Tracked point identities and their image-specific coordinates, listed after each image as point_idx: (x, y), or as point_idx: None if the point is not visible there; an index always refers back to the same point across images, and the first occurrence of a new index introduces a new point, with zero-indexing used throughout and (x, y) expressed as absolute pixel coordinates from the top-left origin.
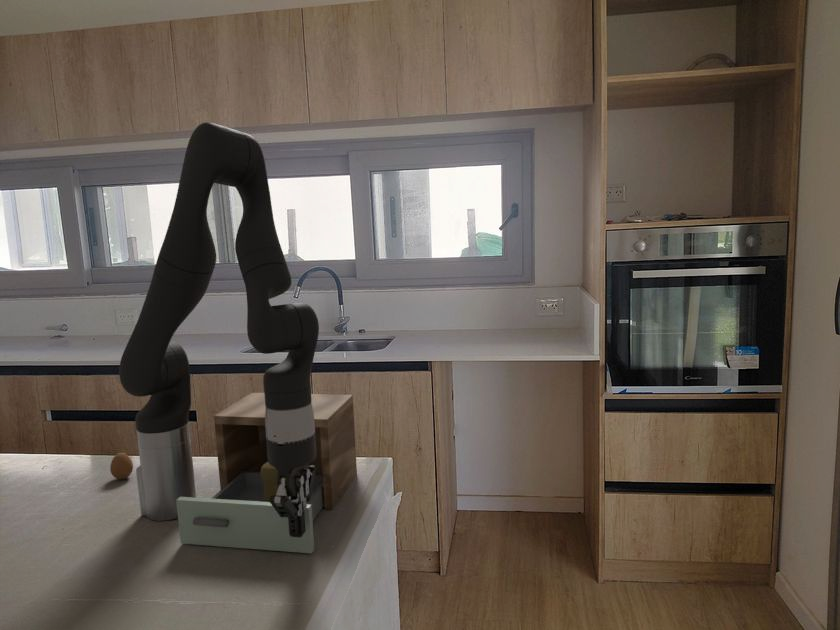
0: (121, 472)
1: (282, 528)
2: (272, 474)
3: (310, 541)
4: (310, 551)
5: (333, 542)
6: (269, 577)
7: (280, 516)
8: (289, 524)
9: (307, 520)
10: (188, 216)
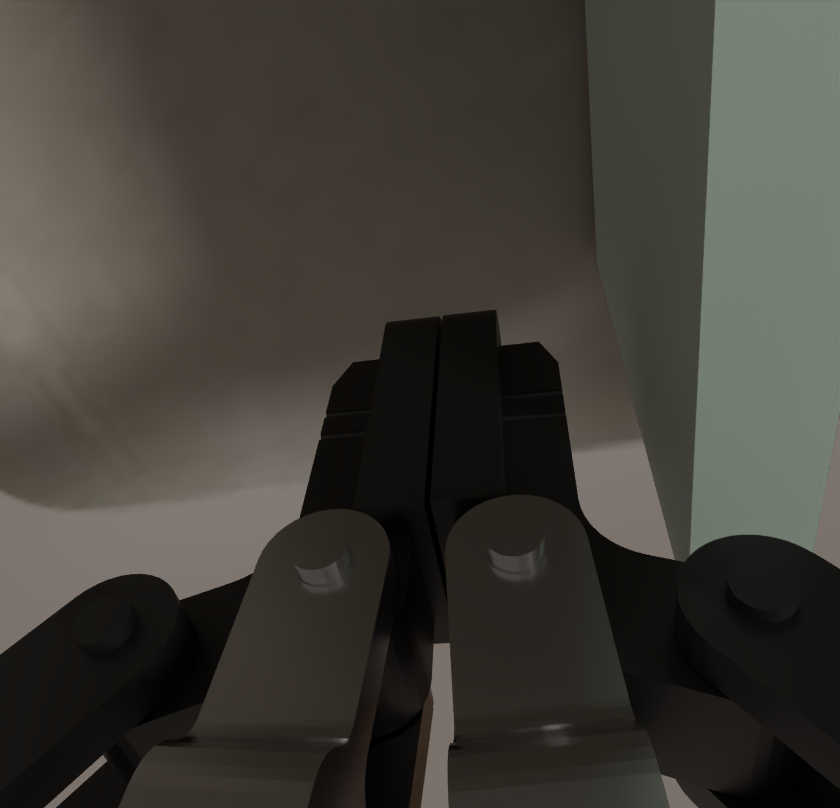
0: None
1: (625, 43)
2: None
3: (613, 316)
4: (599, 260)
5: None
6: (190, 85)
7: (65, 609)
8: (312, 469)
9: (653, 446)
10: None
